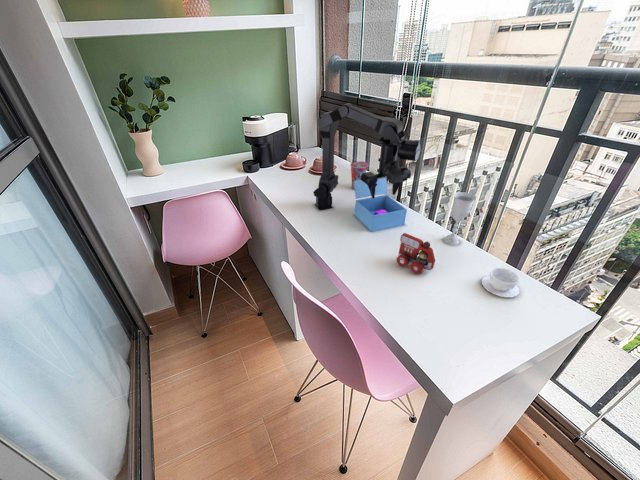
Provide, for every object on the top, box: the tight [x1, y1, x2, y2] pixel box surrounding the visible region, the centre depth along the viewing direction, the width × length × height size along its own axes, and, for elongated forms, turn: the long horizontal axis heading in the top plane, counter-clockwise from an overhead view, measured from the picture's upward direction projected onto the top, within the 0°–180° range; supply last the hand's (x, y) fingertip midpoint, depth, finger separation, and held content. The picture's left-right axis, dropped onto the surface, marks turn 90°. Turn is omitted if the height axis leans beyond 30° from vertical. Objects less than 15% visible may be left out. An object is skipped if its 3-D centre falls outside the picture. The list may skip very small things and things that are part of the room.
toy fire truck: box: [396, 232, 436, 275], centre depth 99 cm, size 7×12×10 cm, turn 44°
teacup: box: [481, 267, 521, 298], centre depth 91 cm, size 10×10×5 cm
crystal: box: [374, 209, 387, 215], centre depth 126 cm, size 5×5×5 cm
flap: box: [354, 178, 388, 200], centre depth 128 cm, size 7×15×1 cm
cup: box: [350, 161, 369, 190], centre depth 153 cm, size 9×8×12 cm
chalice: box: [443, 191, 477, 246], centre depth 108 cm, size 7×7×18 cm
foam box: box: [354, 194, 408, 233], centre depth 126 cm, size 15×15×7 cm
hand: (383, 196), depth 121 cm, fingers open, 9 cm apart
